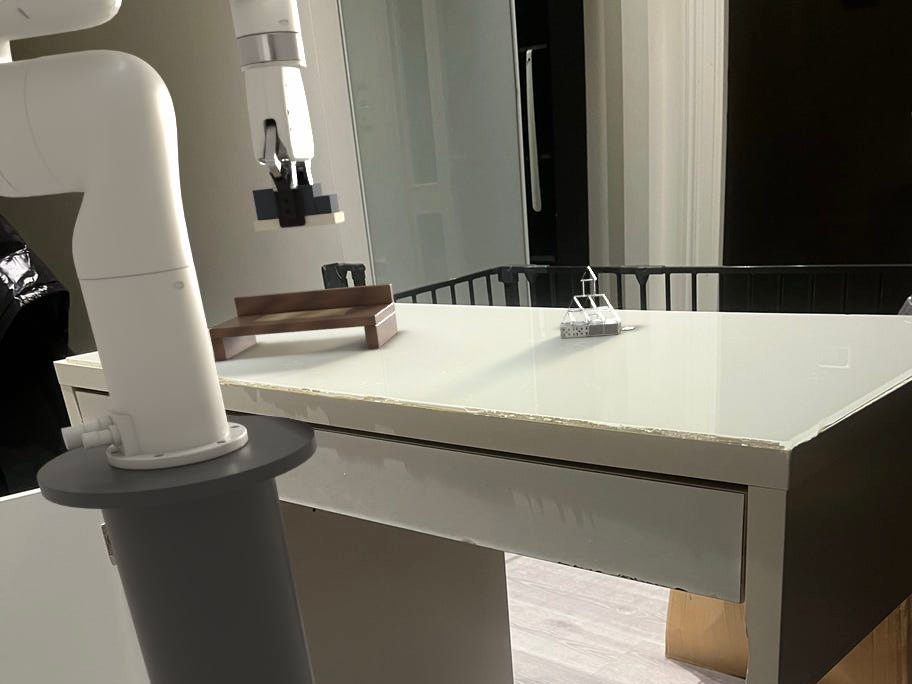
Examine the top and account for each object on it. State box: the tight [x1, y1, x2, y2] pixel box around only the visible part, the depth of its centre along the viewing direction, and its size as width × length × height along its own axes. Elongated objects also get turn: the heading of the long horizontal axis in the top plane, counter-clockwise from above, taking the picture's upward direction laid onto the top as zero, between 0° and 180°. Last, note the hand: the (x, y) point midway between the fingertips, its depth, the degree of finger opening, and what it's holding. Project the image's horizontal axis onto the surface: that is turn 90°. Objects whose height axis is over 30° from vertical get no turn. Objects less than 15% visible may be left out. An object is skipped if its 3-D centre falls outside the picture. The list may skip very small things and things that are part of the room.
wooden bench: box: [208, 283, 399, 362], centre depth 126 cm, size 22×12×6 cm, turn 83°
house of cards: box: [559, 265, 635, 339], centre depth 116 cm, size 9×9×8 cm
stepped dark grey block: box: [252, 182, 346, 232], centre depth 119 cm, size 10×5×5 cm, turn 83°
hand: (299, 223), depth 120 cm, fingers closed on stepped dark grey block, 4 cm apart
